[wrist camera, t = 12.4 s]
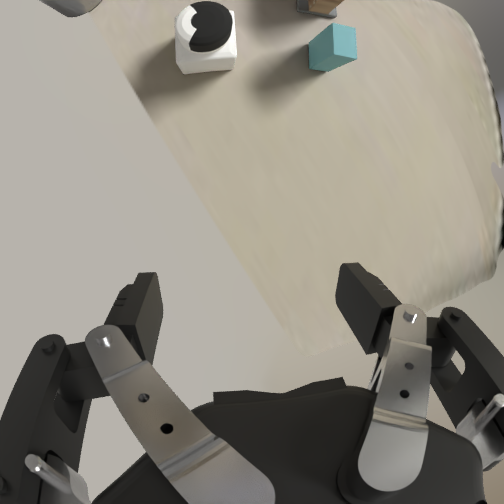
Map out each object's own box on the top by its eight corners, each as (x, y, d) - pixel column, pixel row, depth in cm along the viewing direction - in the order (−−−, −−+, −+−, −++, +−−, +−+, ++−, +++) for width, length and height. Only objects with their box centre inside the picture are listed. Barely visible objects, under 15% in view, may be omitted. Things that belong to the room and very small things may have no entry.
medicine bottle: (231, 28, 30) (236, -8, 19) (233, 70, 33) (240, 46, 22) (181, 32, 29) (168, -1, 18) (182, 75, 32) (168, 53, 21)
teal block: (328, 71, 33) (357, 59, 25) (309, 68, 33) (334, 54, 24) (327, 45, 32) (355, 28, 23) (308, 42, 31) (332, 22, 23)
